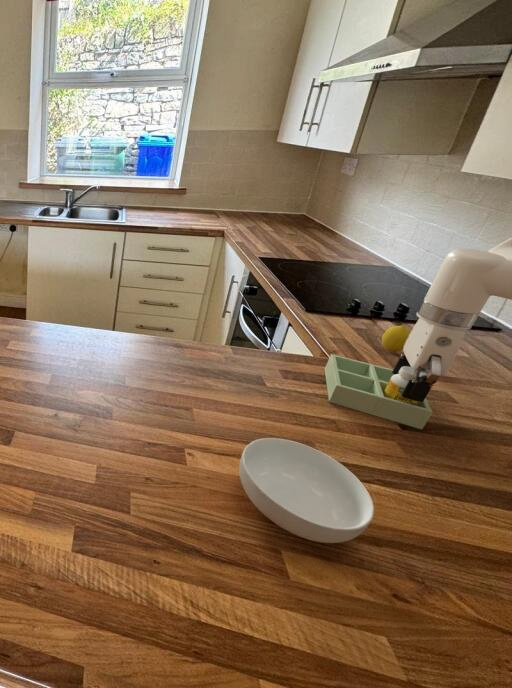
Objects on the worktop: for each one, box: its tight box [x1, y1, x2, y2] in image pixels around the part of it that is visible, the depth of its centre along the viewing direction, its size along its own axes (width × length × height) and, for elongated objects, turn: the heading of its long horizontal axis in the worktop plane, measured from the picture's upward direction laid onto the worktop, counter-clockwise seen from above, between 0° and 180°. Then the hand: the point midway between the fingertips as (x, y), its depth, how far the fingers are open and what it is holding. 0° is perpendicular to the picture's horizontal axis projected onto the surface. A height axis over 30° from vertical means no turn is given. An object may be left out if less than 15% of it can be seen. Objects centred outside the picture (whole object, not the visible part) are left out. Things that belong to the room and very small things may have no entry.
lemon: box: [381, 325, 411, 353], centre depth 108 cm, size 6×6×8 cm
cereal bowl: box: [238, 437, 375, 544], centre depth 63 cm, size 17×17×7 cm
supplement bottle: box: [383, 366, 427, 406], centre depth 84 cm, size 5×5×10 cm
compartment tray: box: [324, 353, 434, 430], centre depth 90 cm, size 15×15×5 cm
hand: (406, 386), depth 84 cm, fingers open, 9 cm apart
